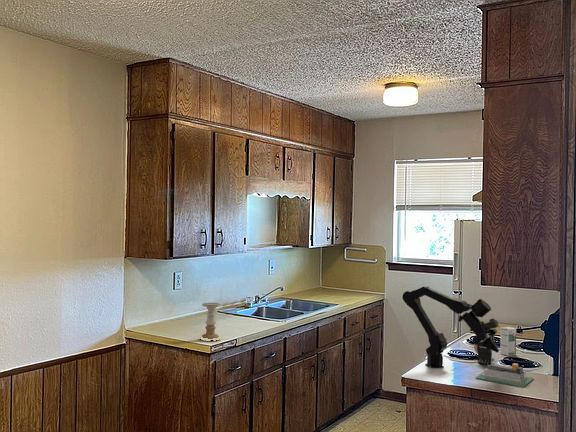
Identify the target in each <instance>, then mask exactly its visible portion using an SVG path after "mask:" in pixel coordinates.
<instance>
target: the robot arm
mask: <svg viewBox="0 0 576 432" xmlns="http://www.w3.org/2000/svg"><path fill="white" fill-rule="evenodd" d="M424 296H426V297H428V298H430V299H433V300H434V301H437V302H439V303H440V304H443V305H445V306H446V307H447V308H448V309H450V310H451V311H452V312H454V313H455V314H459V315H458V322H464V323H465V324H466V325H467V327H469V331H470V332H473V334H474V335H475V337H474V338H472V343H473V345H474V344H475V345H477V344H478V343H479V342H480V341H482V343H481V345H483V346H485V347H487V348H489V349H491V350H492V352H493V351H494V352H495V353H500V350H499V348H498V345H497V343H496V341H495V336H496V334H497V333H498V331H497V328H499V321H498V320H497V319H495V318H490V319H489V321H488V322H485V321H481V320H480V319H479V317H480V318H481V319H482V318H483V317H484V316H486V315H487V314H488V313H489V312H491V311H492V307H491V306H490V304H488V303H487V302H486V301H485V300H483V299H482V298H479V299H478V300H477V301H476V302H475V303H473V304H470V303H468V302H467V301H466V300H463V299H459V298H453V297H451V296H449V295H447V294H444V293H442V292H439V291H437V290H435V289H433V288H431V287H430V286H427V285H425V286H421V287H419V288H417V289H415V290H413V289H412V290H407V291H404V292H403V294H402V300H403V302H404V303H405V304H406V306H408V307H409V308H410V309H411V310H412V312H413V313H414V315H415V316H416V318H417V319H418V321H419V323H420V325H421V326H422V328H423V329H424V331H425V333H426V334H427V337H428V343H429V346H428V347H427V348H426V349H425V351H426V354H427V355H426V356H427V359H426V363H424V365H425V366H427V367H430V368H432V369H437V368H439V369H443V368H444V367H445V366H444V356H443V353H444V350H446V349H447V347H448V339H447V338H446V336H445V335H444V332H441V333H439V332H438V331H437V330H436V328H435V326H434V324H433V323H432V321H431V320H430V318H429V316H428V315H427V313H426V311H425V310H424V308H423V306H422V302H421V298H422V297H424ZM468 311H469V312H468ZM460 314H463V315H460Z"/></svg>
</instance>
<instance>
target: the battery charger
mask: <svg viewBox="0 0 576 432" xmlns="http://www.w3.org/2000/svg"><path fill="white" fill-rule="evenodd" d="M481 343H482V341H480V342H479V343H478V344H477V351H478V354H477V364H480V365H485V366H487V365H491V363H493V350H491V349H489V348H487V347H485V346H483V345H481Z"/></svg>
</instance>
